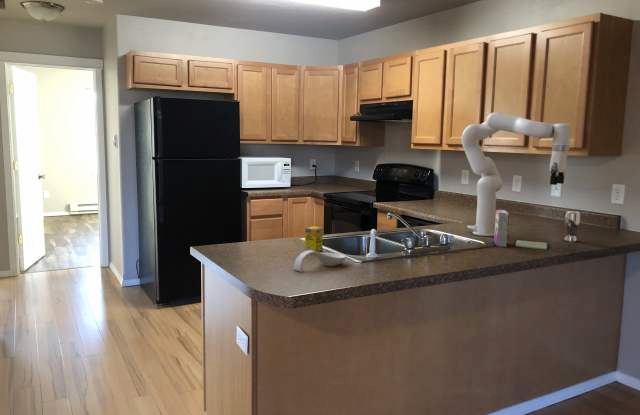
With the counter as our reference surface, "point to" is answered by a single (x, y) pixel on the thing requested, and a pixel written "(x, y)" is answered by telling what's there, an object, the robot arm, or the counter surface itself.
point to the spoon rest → (324, 258)
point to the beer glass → (571, 225)
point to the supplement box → (314, 239)
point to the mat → (531, 244)
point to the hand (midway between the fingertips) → (556, 184)
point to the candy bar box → (501, 228)
